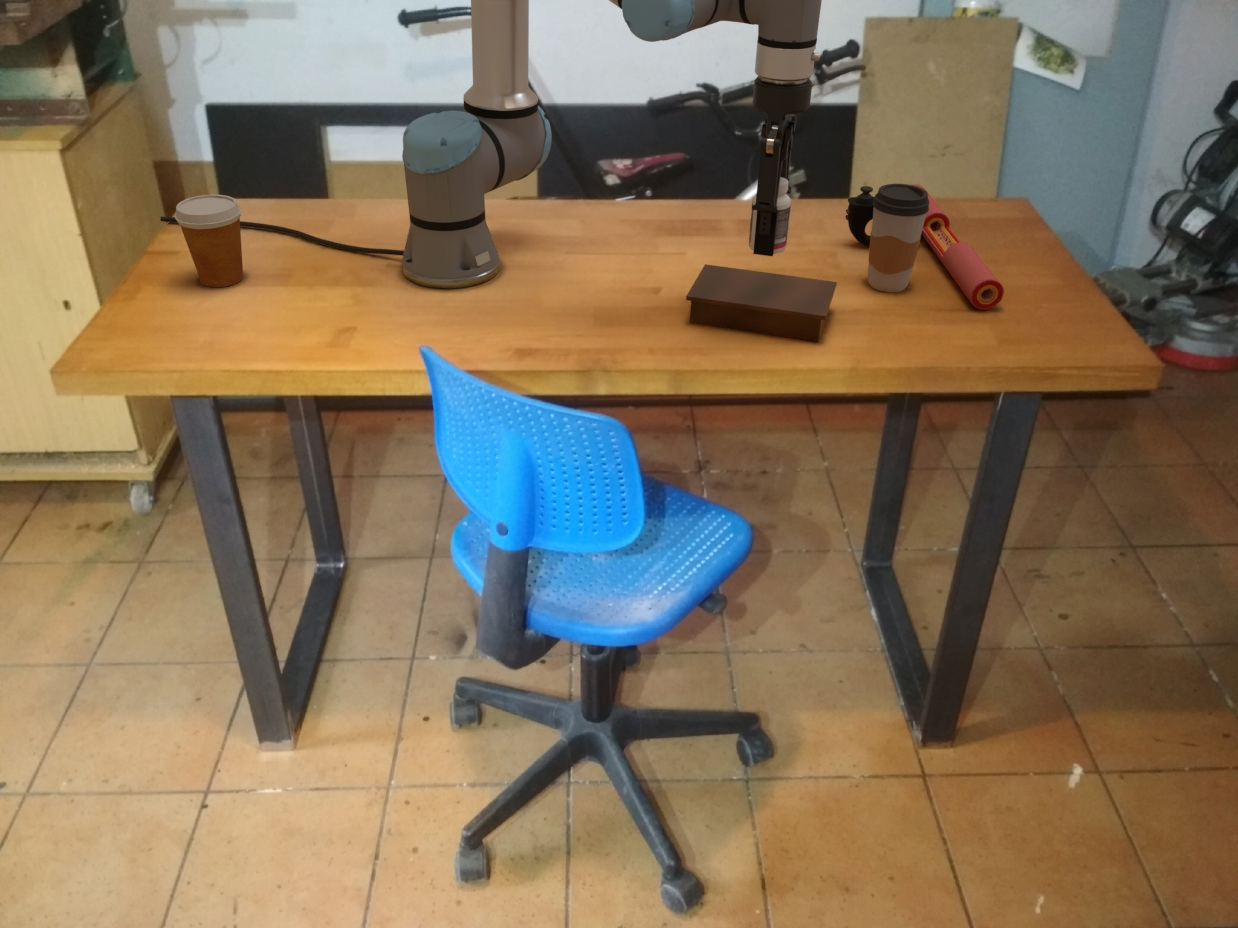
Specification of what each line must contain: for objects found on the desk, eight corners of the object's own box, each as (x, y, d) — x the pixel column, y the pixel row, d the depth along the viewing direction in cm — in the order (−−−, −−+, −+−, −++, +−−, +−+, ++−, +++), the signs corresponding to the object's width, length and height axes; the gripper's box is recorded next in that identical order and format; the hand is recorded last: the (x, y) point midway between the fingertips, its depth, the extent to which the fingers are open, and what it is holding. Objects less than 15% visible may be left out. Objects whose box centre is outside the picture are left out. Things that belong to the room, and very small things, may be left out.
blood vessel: (897, 210, 195) (901, 183, 192) (924, 210, 195) (928, 183, 192) (967, 310, 160) (974, 279, 157) (1000, 310, 160) (1007, 279, 158)
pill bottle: (794, 250, 151) (801, 182, 145) (764, 258, 148) (771, 189, 143) (769, 237, 154) (775, 171, 149) (740, 245, 152) (746, 178, 146)
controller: (839, 240, 182) (847, 183, 177) (909, 239, 183) (919, 183, 178) (845, 250, 179) (853, 192, 173) (917, 249, 180) (927, 192, 174)
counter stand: (684, 324, 155) (686, 296, 152) (703, 291, 164) (705, 264, 162) (821, 344, 150) (825, 315, 148) (832, 309, 160) (836, 282, 157)
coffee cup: (919, 279, 169) (936, 188, 161) (908, 299, 163) (925, 205, 155) (867, 269, 172) (882, 179, 164) (854, 289, 166) (868, 196, 157)
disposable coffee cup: (265, 279, 165) (252, 204, 159) (209, 297, 159) (193, 221, 153) (233, 261, 171) (219, 189, 164) (178, 279, 165) (160, 204, 158)
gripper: (801, 98, 130) (782, 274, 143) (822, 63, 145) (803, 226, 157) (741, 92, 132) (727, 267, 145) (767, 59, 146) (753, 220, 159)
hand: (767, 246), depth 151 cm, fingers closed on pill bottle, 5 cm apart
